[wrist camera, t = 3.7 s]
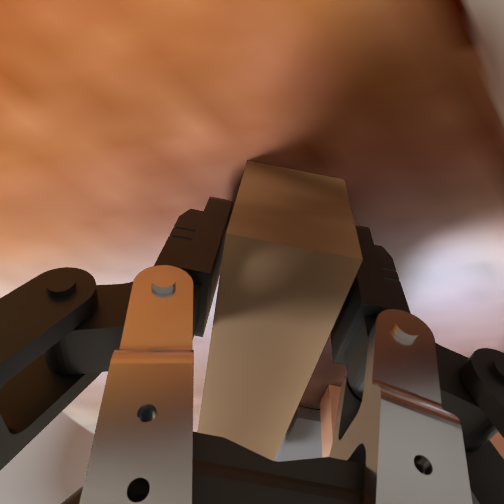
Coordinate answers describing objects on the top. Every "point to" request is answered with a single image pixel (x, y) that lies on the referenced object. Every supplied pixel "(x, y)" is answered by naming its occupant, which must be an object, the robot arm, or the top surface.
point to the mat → (302, 437)
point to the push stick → (276, 301)
